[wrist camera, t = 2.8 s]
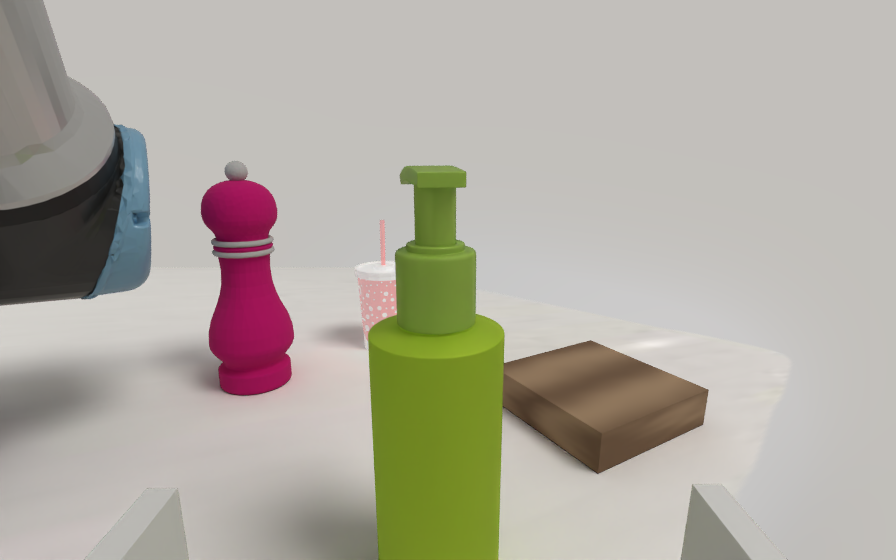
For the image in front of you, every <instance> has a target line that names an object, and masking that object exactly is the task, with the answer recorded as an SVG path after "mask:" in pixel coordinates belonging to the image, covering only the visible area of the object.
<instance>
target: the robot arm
mask: <svg viewBox="0 0 896 560" xmlns="http://www.w3.org/2000/svg"><path fill="white" fill-rule="evenodd" d="M149 191H150V190H149V173H148V160H147V150H146V143H145V139H144V137H143V135H142V134H141V133H140V132H139V131H137V130H136V129H131V128H126V127H125V126H123V125H115V124H113V121H112V119H111V117H110V114H109V112H108V110H107V108H106V106H105V105H104V104H103V103H102V101H101V100H100V99H99V98H98V97H97V96H96V95H95V94H94V93H93V92H92V91H90V90H89V89H88V88H86V87H85V86H83V85H82V84H80V83H79V82H77V81H75V80H73V79H72V78H70V77H68V76H67V74H66V71H65V68H64V65H63V61H62V58H61V55H60V53H59V49H58V46H57V43H56V40H55V36H54V33H53V30H52V27H51V24H50V21H49V18H48V15H47V12H46V8H45V5H44V2H43V0H0V306H2V305H12V304H23V303H34V302H45V301H56V300H67V299H78V298H81V299H92V298H95V297H97V296H98V295H103V294H110V293H117V292H124V291H129V290H133V289H135V288H137V287H139V286H141V285H142V284H143V283H144V282H145V281H146V280H147V278H148V276H149V273H150V267H151V225H150V219H149V215H150V193H149ZM84 560H189V557H188V551H187V544H186V538H185V531H184V525H183V518H182V512H181V505H180V499H179V493H178V488H147V489H146V490H145V491H144V492H143V493H142V495H141V496H140V497H139V498H138V499H137V500H136V501H135V502H134V504H133V505H132V506H131V507H130V508H129V509H128V510H127V512H126V513H125V514H124V515H123V516H122V517H121V518H120V519H119V521H118V522H117V523H116V524H115V525H114V526H113V527H112V528H111V530H110V531H109V532H108V533H107V534H106V535H105V536H104V538H103V539H102V540H101V541H100V542H99V543H98V544H97V545H96V547H95V548H94V549H93V550H92V551H91V552H90V553H89V555H88V556H87V557H86V558H85V559H84ZM681 560H788V559H787V558H786V557H785V556H784V555H783V554H782V553H781V551H780V550H779V549H778V548H777V547H776V546H775V545H774V543H773V542H772V541H771V540H770V539H769V538H768V537H767V536H766V534H765V533H764V532H763V531H762V530H761V529H760V528H759V526H758V525H757V524H756V523H755V522H754V520H753V519H752V518H751V517H750V516H749V515H748V514H747V512H746V511H745V510H744V509H743V508H742V507H741V506H740V504H739V503H738V502H737V501H736V500H735V499H734V498H733V496H732V495H731V494H730V493H729V492H728V491H727V489H726V488H725V487H724V486H723V485H722V484H692V491H691V497H690V503H689V510H688V516H687V523H686V529H685V536H684V542H683V548H682V555H681Z"/></svg>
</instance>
